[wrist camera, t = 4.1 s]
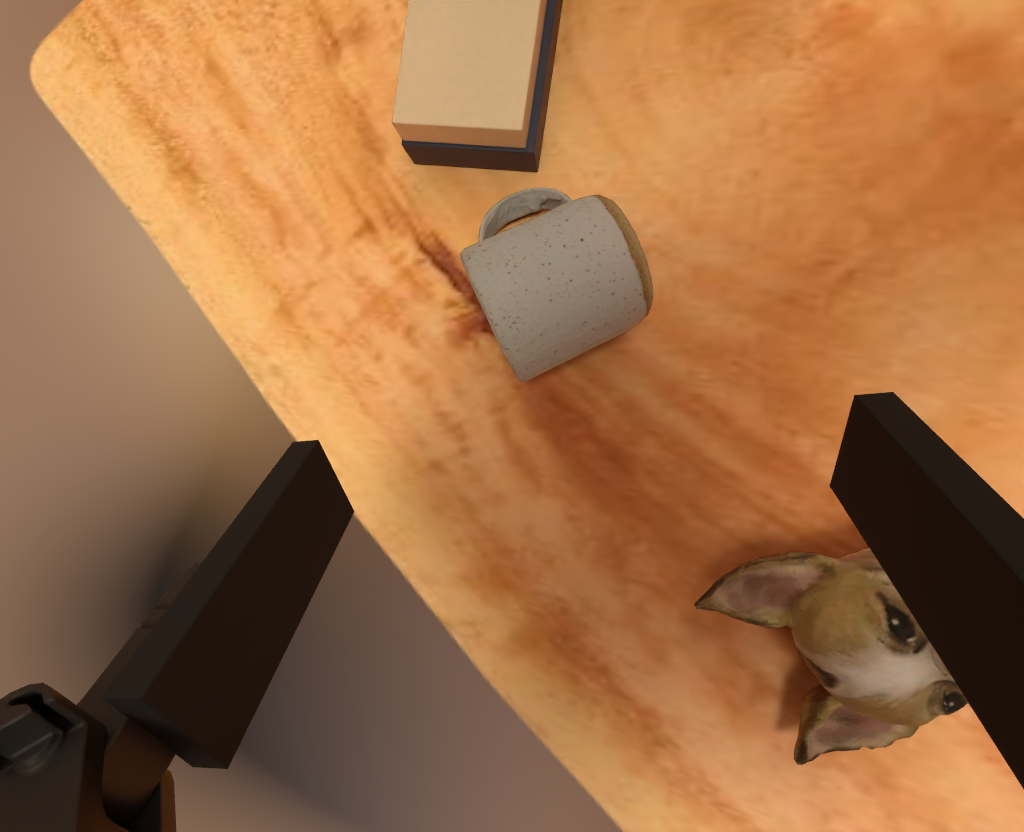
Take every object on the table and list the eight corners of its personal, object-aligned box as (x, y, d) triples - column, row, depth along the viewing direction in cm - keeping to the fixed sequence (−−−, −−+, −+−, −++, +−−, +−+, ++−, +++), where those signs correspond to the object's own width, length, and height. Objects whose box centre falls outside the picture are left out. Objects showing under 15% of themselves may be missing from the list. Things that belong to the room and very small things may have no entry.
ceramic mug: (651, 328, 28) (675, 291, 21) (527, 390, 29) (506, 376, 22) (572, 174, 29) (567, 84, 22) (454, 239, 30) (410, 175, 23)
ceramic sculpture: (1278, 724, 16) (861, 883, 19) (1050, 616, 25) (784, 737, 28) (1077, 459, 17) (708, 646, 20) (924, 442, 26) (679, 575, 29)
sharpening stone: (438, -9, 30) (416, -74, 26) (564, -8, 29) (560, -74, 25) (414, 164, 31) (388, 126, 27) (537, 172, 29) (530, 134, 25)
